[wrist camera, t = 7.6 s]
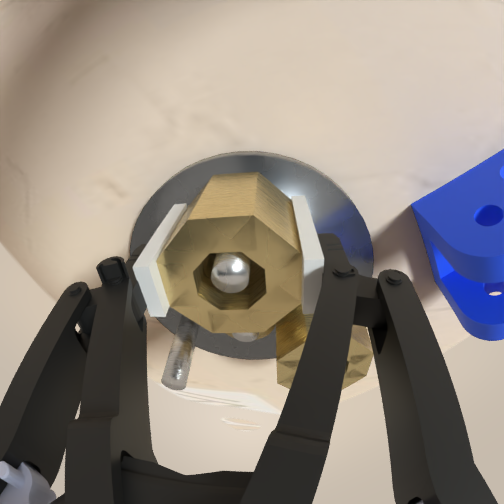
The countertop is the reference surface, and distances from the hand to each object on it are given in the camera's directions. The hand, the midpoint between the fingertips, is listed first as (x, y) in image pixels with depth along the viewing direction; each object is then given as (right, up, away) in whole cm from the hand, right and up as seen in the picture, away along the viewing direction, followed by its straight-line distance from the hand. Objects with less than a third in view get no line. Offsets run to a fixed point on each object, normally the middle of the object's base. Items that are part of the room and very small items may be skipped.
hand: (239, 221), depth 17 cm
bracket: (+22, +3, +1) cm, 22 cm away
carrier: (+1, -3, +5) cm, 6 cm away
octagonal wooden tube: (0, 0, 0) cm, 0 cm away
